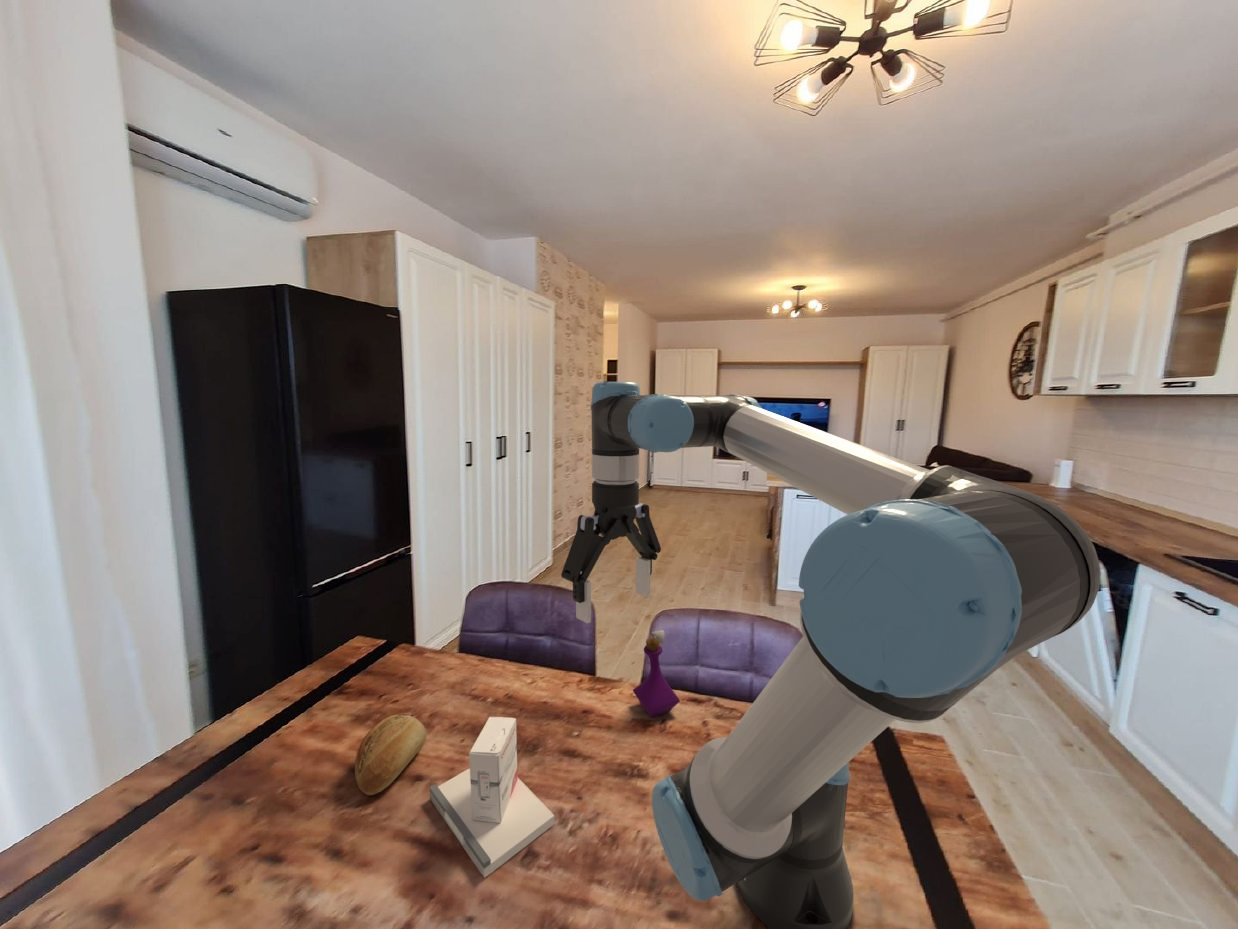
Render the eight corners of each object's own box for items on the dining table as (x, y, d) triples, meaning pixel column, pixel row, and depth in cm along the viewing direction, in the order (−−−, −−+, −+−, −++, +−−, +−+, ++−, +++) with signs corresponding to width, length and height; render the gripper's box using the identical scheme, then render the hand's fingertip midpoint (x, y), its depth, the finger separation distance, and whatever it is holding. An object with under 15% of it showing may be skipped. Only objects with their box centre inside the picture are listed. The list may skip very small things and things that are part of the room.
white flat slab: (554, 824, 74) (554, 811, 73) (483, 879, 65) (482, 864, 65) (495, 760, 86) (494, 749, 86) (429, 800, 78) (428, 787, 78)
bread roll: (338, 799, 78) (334, 755, 77) (391, 735, 93) (389, 698, 92) (392, 805, 77) (389, 761, 76) (437, 740, 92) (435, 702, 91)
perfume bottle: (632, 703, 103) (632, 626, 100) (662, 694, 106) (663, 619, 103) (648, 725, 96) (649, 642, 93) (679, 715, 99) (682, 634, 96)
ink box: (491, 776, 81) (489, 713, 79) (519, 779, 80) (517, 715, 79) (470, 821, 72) (467, 752, 71) (501, 824, 72) (499, 754, 70)
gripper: (650, 469, 86) (648, 580, 89) (536, 487, 69) (539, 623, 72) (682, 474, 81) (679, 591, 84) (568, 494, 64) (570, 641, 67)
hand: (614, 606), depth 78 cm, fingers open, 13 cm apart
